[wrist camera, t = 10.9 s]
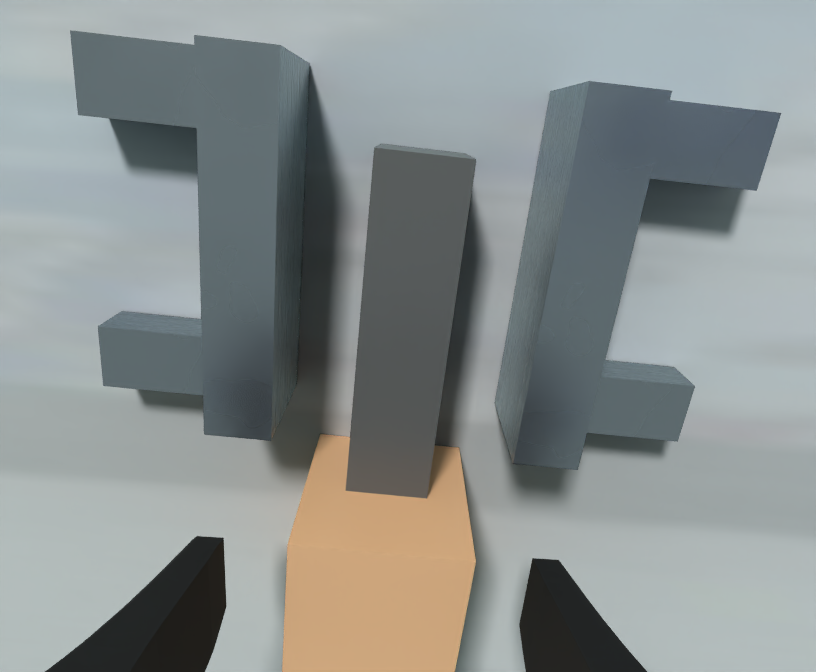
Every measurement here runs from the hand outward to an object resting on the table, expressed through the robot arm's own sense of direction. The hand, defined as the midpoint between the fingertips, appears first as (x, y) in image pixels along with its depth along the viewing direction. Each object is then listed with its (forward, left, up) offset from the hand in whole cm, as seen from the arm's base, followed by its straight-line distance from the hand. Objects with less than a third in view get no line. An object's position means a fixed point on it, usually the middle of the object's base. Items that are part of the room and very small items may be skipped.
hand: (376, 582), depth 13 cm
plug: (0, -3, -4) cm, 5 cm away
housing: (0, -7, -4) cm, 8 cm away
